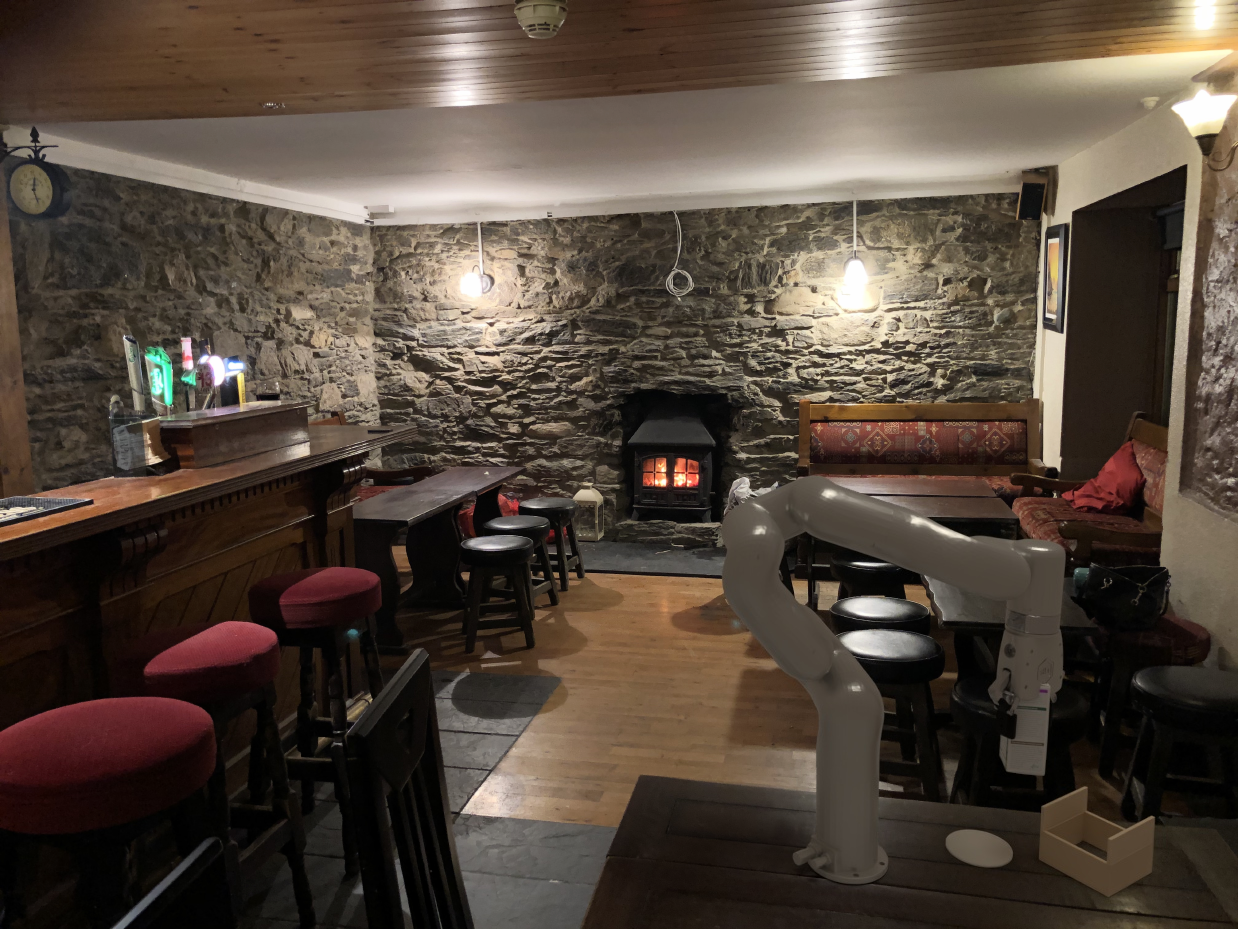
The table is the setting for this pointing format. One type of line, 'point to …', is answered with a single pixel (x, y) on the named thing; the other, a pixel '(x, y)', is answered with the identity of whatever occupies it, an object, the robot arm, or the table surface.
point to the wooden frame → (1094, 844)
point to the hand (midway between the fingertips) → (1023, 729)
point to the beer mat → (979, 848)
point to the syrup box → (1028, 736)
